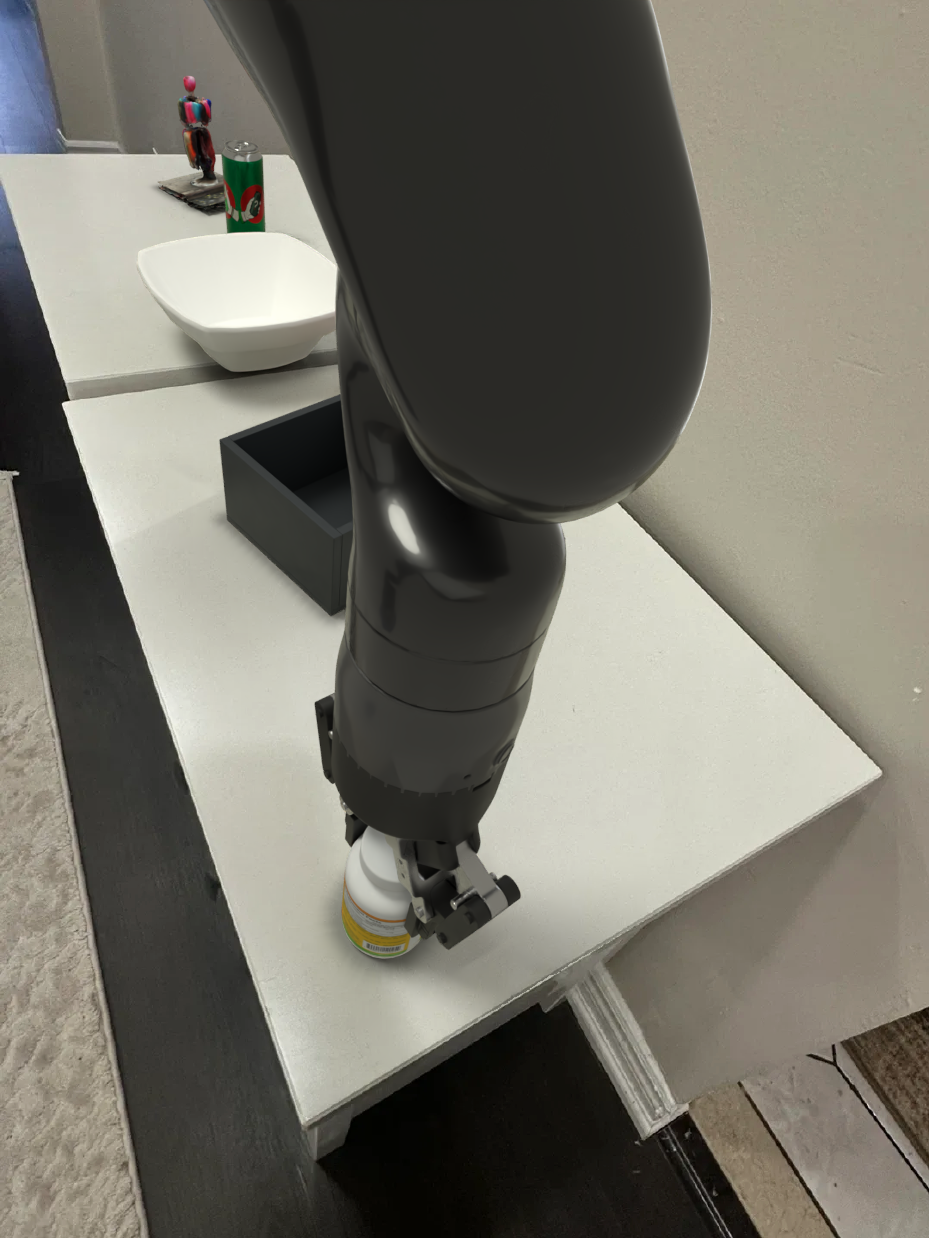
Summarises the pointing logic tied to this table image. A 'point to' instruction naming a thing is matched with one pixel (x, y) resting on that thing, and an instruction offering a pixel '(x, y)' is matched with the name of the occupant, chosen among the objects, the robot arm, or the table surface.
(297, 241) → the bowl
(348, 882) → the supplement bottle
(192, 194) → the statue
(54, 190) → the table surface
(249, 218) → the soda can
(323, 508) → the bin
